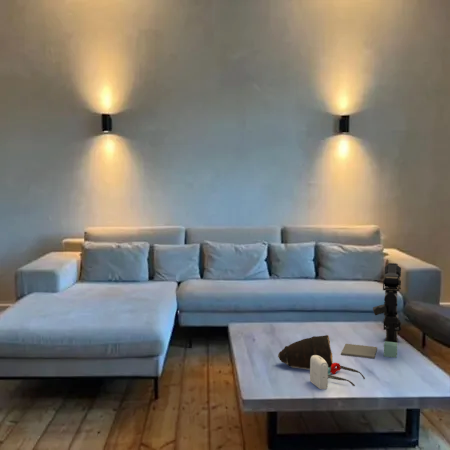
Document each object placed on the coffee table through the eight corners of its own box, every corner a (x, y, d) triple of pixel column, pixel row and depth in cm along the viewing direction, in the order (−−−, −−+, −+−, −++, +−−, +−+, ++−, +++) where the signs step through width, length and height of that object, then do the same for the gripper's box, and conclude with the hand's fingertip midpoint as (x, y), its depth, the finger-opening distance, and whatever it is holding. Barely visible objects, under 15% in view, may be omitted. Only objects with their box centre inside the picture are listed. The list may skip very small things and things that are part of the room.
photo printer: (329, 389, 216) (329, 360, 215) (319, 390, 215) (320, 361, 214) (317, 380, 226) (317, 352, 225) (308, 381, 225) (308, 353, 224)
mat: (345, 345, 274) (345, 343, 273) (377, 348, 268) (377, 346, 268) (340, 355, 259) (341, 353, 259) (374, 358, 253) (374, 356, 253)
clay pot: (275, 336, 250) (327, 328, 246) (281, 365, 253) (333, 358, 249) (274, 350, 236) (329, 342, 232) (280, 380, 239) (335, 373, 234)
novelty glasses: (336, 371, 238) (336, 360, 237) (366, 378, 228) (367, 367, 228) (321, 380, 227) (321, 369, 227) (352, 388, 218) (352, 377, 217)
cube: (384, 352, 262) (384, 341, 261) (397, 354, 260) (397, 342, 259) (383, 356, 256) (383, 344, 256) (396, 358, 254) (396, 346, 253)
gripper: (373, 295, 266) (373, 325, 268) (374, 304, 248) (373, 336, 250) (396, 296, 263) (396, 326, 265) (398, 305, 245) (398, 337, 247)
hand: (390, 331), depth 257 cm, fingers open, 9 cm apart
